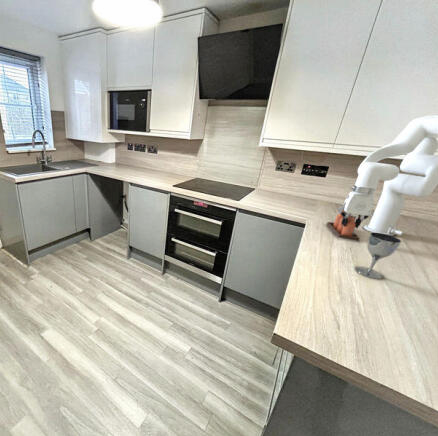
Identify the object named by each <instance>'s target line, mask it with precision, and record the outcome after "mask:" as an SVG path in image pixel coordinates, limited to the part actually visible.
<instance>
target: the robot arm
mask: <svg viewBox="0 0 438 436" xmlns="http://www.w3.org/2000/svg"><path fill="white" fill-rule="evenodd" d="M437 138H438V114H431V115H424V116H421V117H416V118H413V119H412V120H411V121H409V123H408V124H407V125H406V126H405V127H404V129H402V131H401V132H400V133H399V134H398V135H397V136H396V138H394V140H393V141H392V142H390V143H388V144H385V145H384V146H382V147H379V148H377V149H375V150H374V151H372V152H371V153H369V154H368V155H367V156H366V157H365V158H364V160H363V161H362V162H361V163H360V165H359V166H358V168H357V174H358V176H357V178H356V181H355V184H354V185H353V186H350V187H349V190H350V192H349V193H348V194H347V196H346V198H345V200H344V203H343V204H342V205H341V206H340V207H339V208H336V209H337V210H336V211H337V212H338V213H341V215H342V216H343V219H342V221H341V223H342V225H343V226H346V223H347V221H348V219H347V218H348V216H349V215H350V214H351V215H356V216H357V218H356V219H355V222H356V226H355V229H359V227H360V226H361V223H362V222H363V221H364V220H366V219H368V218H370V217H371V218H370V221H369V223H368V224H365V225H363V226H364V227H363V228H364V229H365V230H366V231H369V232H371V233H381V234H386V235H390V236H395V235H398V236H402V235H403V234H404V231H402V230H400V229H397V226H396V223H397V221H398V219H399V217H400V215H401V213H402V210H403V209H404V206H405V205H406V199H405V197H404V195H407V196H410V197H415V198H427V197H428V196H430V195H431V194H432V193H433V191H434V190H435V189H436V187H438V155H437V154H435V153H436V152H437V151H438V140H437ZM404 155H405V156H404ZM400 156H404V158H403V160H401V163H400V165H399V167H398V166H397V165H395V164H389V163H385V162H384V163H383V162H380V161H382V160H385V159H389V158H394V157H400ZM400 171H402V172H403V173H401V172H400ZM380 181H383V187H382V192H381V195H380V197H379V200H378V202H377V204H376V207H375V209H374V212H373V211H372V210H373V208H374V205H375V200H376V195H375V191H376V189H377V187H378V184H379V182H380ZM342 210H344V211H345V212H343V211H342Z"/></svg>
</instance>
